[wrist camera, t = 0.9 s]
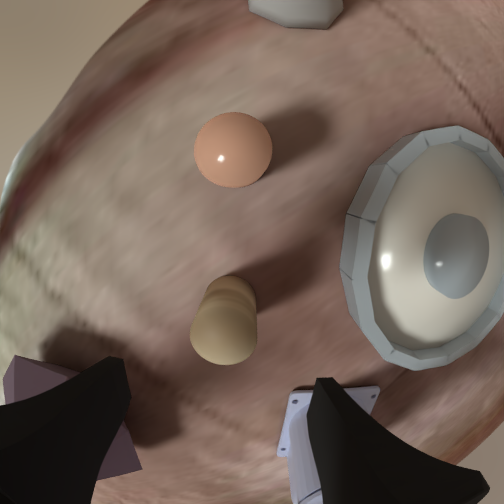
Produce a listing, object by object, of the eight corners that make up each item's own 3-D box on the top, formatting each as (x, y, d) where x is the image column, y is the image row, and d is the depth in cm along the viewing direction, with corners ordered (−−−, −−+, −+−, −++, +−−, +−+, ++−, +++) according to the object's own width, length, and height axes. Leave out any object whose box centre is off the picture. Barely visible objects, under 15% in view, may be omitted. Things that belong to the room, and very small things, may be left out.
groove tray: (479, 342, 20) (493, 354, 17) (321, 358, 19) (329, 378, 17) (513, 163, 16) (531, 164, 13) (352, 105, 15) (366, 94, 13)
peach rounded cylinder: (264, 189, 17) (269, 190, 12) (208, 185, 17) (191, 185, 12) (268, 135, 16) (274, 114, 11) (212, 132, 16) (197, 111, 11)
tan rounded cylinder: (254, 324, 19) (254, 367, 14) (204, 320, 19) (191, 361, 14) (257, 277, 18) (259, 310, 13) (205, 273, 18) (189, 305, 13)
